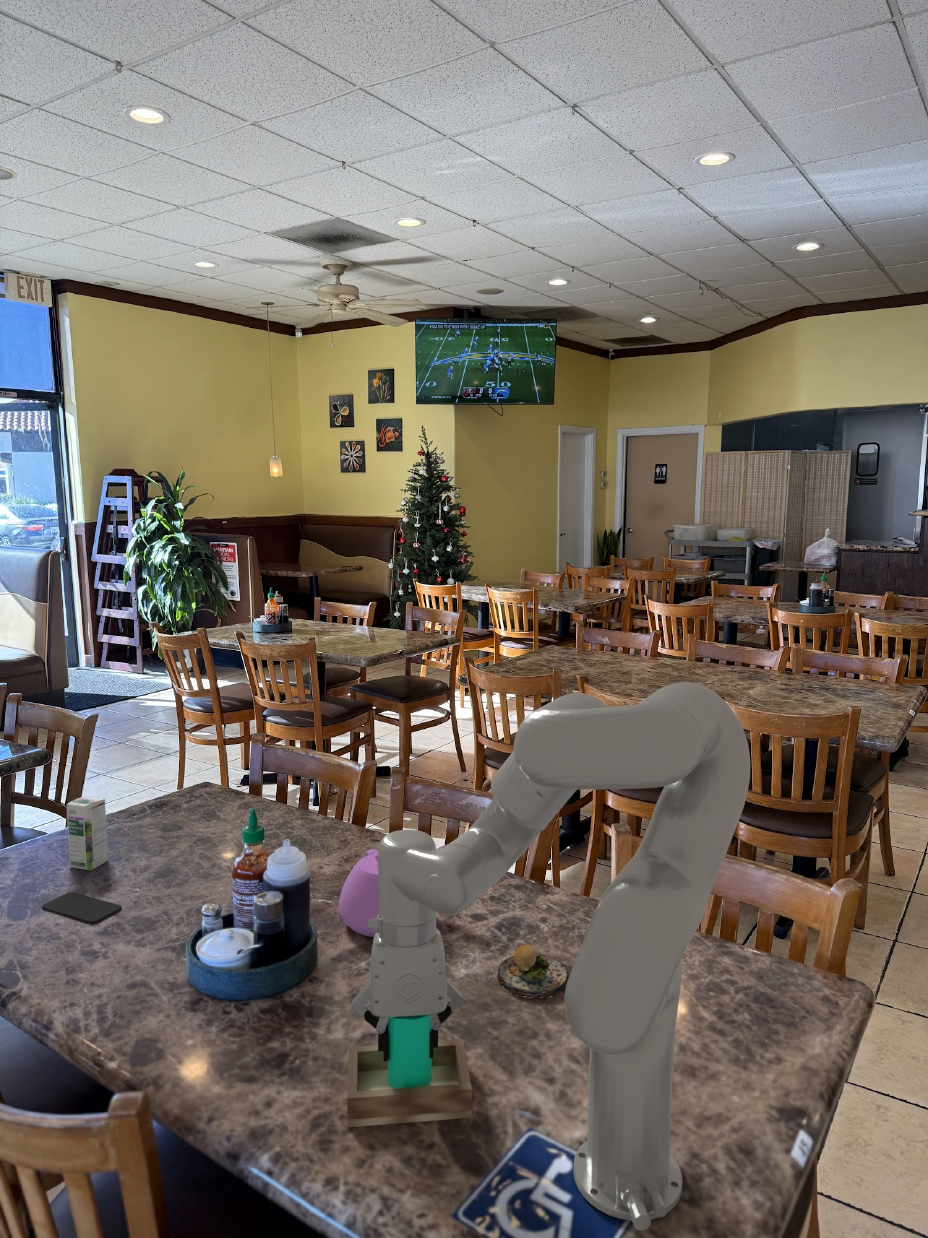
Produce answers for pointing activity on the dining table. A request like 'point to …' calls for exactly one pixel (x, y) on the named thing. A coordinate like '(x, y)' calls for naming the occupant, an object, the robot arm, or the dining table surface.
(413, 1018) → the candle
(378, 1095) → the tray
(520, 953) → the plate of food
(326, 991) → the dining table surface
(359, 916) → the teapot
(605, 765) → the robot arm
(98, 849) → the syrup box
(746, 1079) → the dining table surface
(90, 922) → the phone
